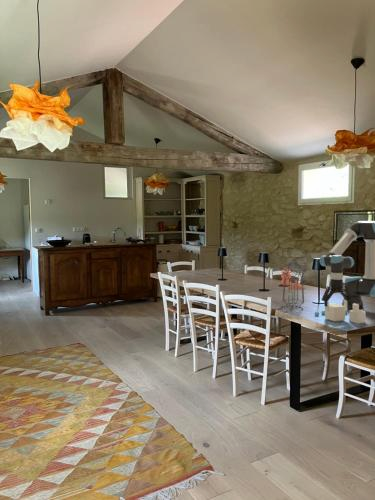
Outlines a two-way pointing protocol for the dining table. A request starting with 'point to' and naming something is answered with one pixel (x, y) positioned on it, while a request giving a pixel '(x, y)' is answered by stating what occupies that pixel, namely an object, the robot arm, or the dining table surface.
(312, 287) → the dining table surface
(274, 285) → the dining table surface
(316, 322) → the dining table surface
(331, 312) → the cream cube
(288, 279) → the ceramic vessels
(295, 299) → the geometric lantern
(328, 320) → the coaster
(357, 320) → the medicine bottle
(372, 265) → the robot arm
